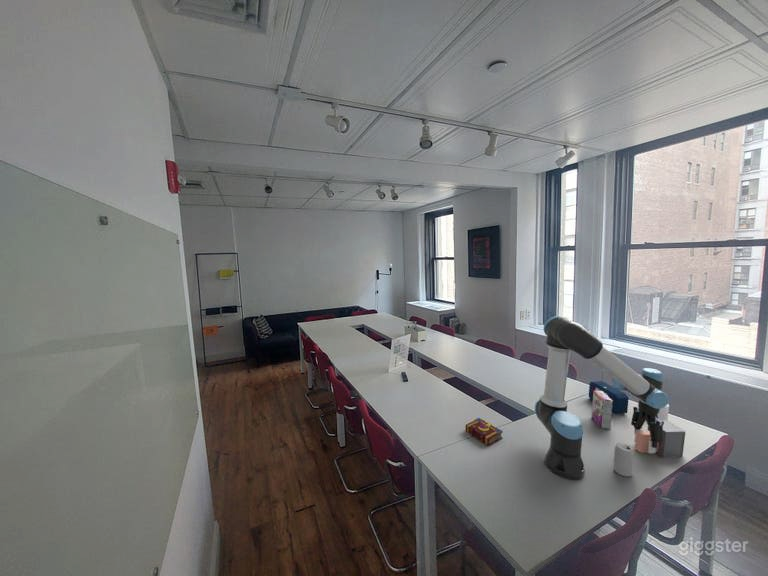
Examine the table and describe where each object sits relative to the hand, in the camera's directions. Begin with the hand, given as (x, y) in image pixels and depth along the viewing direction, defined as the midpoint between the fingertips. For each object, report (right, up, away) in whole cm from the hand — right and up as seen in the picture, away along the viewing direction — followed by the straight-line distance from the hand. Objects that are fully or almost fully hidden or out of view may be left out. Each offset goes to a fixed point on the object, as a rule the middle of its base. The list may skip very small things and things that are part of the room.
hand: (644, 447), depth 143 cm
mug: (+29, +2, +27) cm, 40 cm away
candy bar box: (-4, +1, +23) cm, 23 cm away
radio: (+11, +4, +40) cm, 42 cm away
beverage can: (-21, -4, -13) cm, 25 cm away
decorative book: (-72, -2, +15) cm, 74 cm away
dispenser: (+10, -2, 0) cm, 10 cm away
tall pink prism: (+5, -2, 0) cm, 5 cm away
